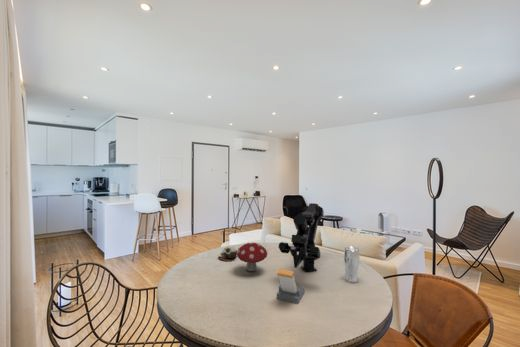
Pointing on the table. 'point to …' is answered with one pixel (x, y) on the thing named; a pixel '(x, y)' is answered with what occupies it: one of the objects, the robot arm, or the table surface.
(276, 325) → the table surface
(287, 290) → the lever
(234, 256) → the skull
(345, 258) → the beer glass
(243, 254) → the decorative mushroom
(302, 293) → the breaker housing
